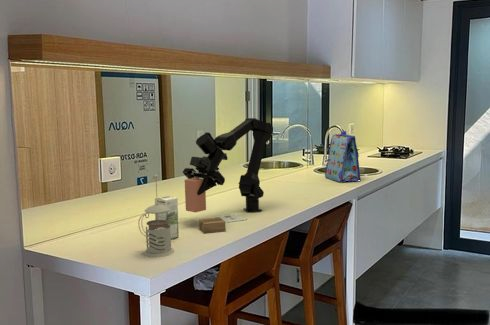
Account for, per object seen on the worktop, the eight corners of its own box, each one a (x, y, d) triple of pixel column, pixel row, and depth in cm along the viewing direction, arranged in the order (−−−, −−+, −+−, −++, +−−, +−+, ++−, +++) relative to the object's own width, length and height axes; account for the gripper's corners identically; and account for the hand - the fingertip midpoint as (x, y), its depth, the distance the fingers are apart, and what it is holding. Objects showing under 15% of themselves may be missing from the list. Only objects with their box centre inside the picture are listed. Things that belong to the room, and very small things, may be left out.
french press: (164, 258, 154) (161, 177, 151) (132, 254, 158) (128, 176, 155) (180, 249, 163) (177, 172, 160) (149, 246, 167) (146, 171, 164)
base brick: (199, 228, 189) (198, 219, 189) (219, 226, 192) (219, 217, 191) (204, 233, 182) (203, 224, 181) (225, 231, 184) (225, 221, 184)
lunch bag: (361, 181, 287) (361, 131, 284) (339, 183, 284) (339, 132, 280) (344, 176, 308) (344, 129, 305) (323, 178, 305) (323, 130, 301)
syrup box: (168, 235, 181) (166, 195, 179) (179, 237, 177) (177, 197, 175) (155, 238, 176) (153, 197, 174) (167, 241, 172) (165, 199, 171)
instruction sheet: (214, 216, 207) (214, 216, 207) (233, 214, 212) (233, 213, 212) (226, 222, 197) (226, 221, 197) (247, 219, 201) (247, 218, 201)
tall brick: (196, 208, 196) (195, 176, 195) (206, 209, 193) (205, 177, 191) (185, 210, 192) (184, 178, 191) (195, 212, 189) (194, 179, 187)
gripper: (185, 147, 199) (164, 178, 192) (218, 149, 187) (197, 183, 180) (200, 165, 206) (180, 195, 199) (233, 168, 193) (214, 201, 187)
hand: (192, 193), depth 191 cm, fingers closed on tall brick, 5 cm apart
